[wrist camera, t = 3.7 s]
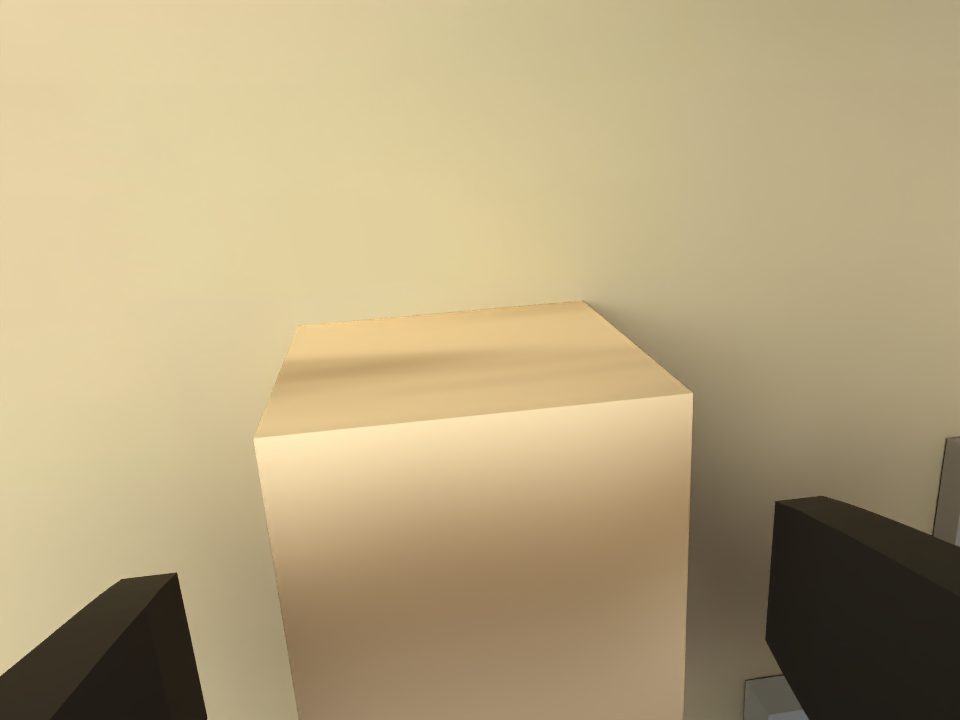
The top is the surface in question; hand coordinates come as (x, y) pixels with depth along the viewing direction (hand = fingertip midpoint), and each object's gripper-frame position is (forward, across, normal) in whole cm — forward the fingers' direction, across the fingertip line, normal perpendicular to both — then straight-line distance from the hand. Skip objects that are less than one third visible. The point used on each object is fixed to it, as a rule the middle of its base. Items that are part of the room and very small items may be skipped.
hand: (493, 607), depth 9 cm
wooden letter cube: (+5, 0, 0) cm, 5 cm away
